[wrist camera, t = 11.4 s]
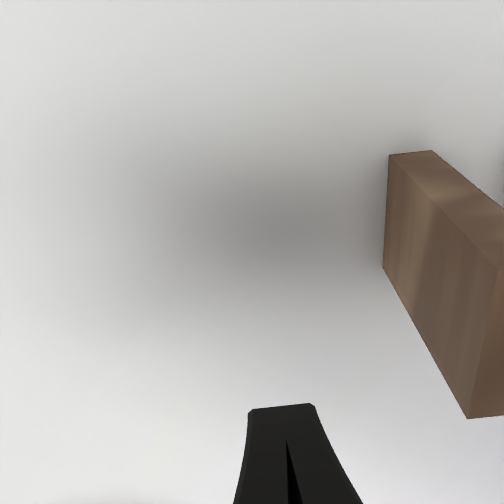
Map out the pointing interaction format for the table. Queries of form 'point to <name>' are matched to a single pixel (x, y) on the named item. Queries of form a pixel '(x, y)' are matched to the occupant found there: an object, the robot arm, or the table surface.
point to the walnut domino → (449, 274)
